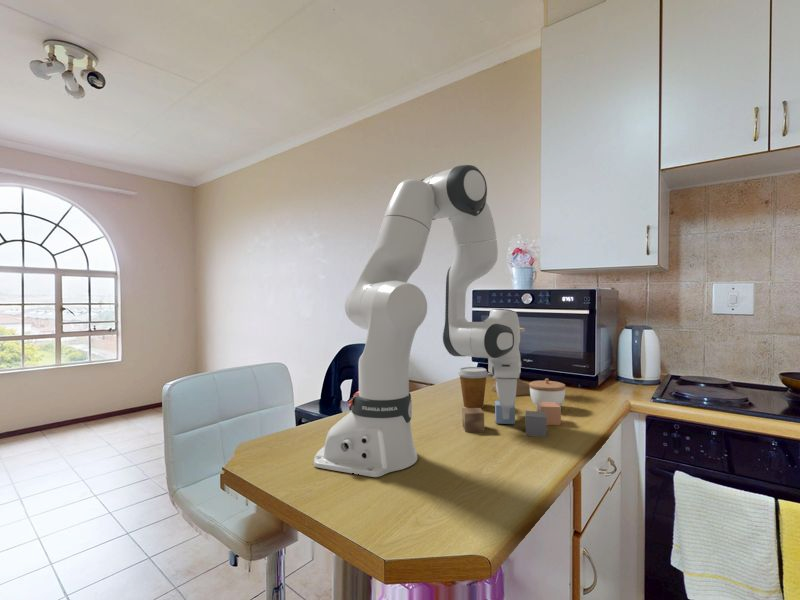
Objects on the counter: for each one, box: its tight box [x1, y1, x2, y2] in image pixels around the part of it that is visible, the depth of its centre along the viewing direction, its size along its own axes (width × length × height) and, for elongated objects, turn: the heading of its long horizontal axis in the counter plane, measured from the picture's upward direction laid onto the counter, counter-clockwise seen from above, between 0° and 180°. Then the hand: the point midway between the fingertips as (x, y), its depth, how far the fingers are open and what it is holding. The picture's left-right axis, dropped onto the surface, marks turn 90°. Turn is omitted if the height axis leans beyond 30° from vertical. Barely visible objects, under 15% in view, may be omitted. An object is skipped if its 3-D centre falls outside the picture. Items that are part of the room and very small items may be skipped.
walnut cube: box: [461, 407, 485, 433], centre depth 105 cm, size 5×5×5 cm
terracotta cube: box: [537, 402, 562, 426], centre depth 109 cm, size 5×5×5 cm
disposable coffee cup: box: [458, 366, 489, 409], centre depth 127 cm, size 10×10×12 cm
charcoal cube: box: [524, 410, 548, 438], centre depth 100 cm, size 5×5×5 cm
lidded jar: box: [528, 378, 566, 409], centre depth 123 cm, size 11×11×9 cm
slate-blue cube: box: [494, 400, 516, 425], centre depth 110 cm, size 5×5×5 cm
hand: (504, 415), depth 110 cm, fingers closed on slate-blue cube, 5 cm apart
